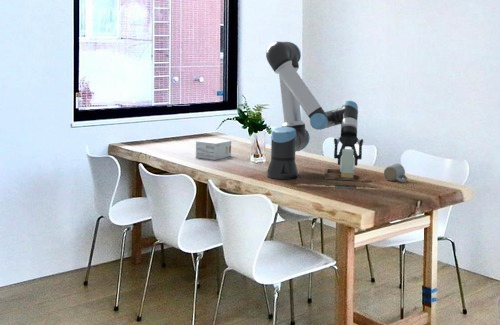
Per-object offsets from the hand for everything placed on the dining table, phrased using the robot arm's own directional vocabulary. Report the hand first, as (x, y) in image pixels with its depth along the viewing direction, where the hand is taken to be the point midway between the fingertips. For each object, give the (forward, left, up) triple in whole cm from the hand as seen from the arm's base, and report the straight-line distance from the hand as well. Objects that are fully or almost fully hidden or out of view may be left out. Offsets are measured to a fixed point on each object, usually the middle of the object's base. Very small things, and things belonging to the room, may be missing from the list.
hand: (347, 170), depth 304 cm
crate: (-13, +16, -8) cm, 22 cm away
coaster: (-2, +3, -8) cm, 9 cm away
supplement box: (-99, +20, -8) cm, 101 cm away
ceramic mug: (+8, +33, -8) cm, 35 cm away
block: (-2, +3, -3) cm, 5 cm away
